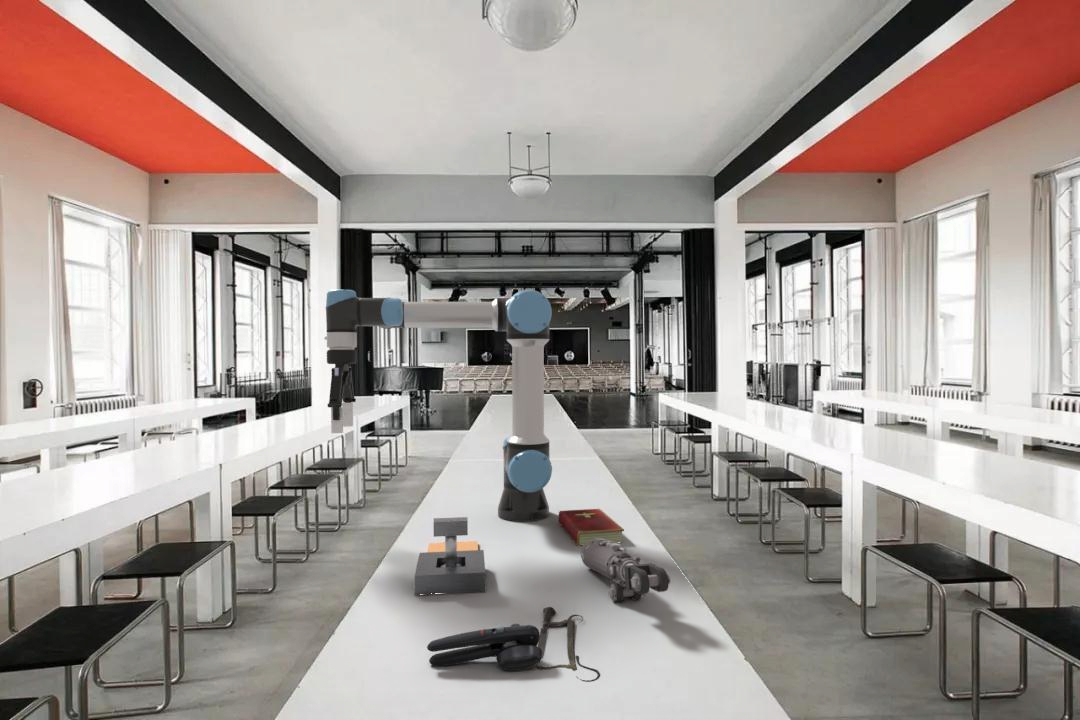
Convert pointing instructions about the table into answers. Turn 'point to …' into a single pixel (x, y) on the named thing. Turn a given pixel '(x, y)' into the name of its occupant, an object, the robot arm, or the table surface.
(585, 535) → the hardcover book
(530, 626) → the can opener
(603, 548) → the hydraulic cylinder
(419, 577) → the block
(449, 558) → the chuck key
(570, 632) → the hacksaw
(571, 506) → the table surface
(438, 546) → the key mat
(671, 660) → the table surface
